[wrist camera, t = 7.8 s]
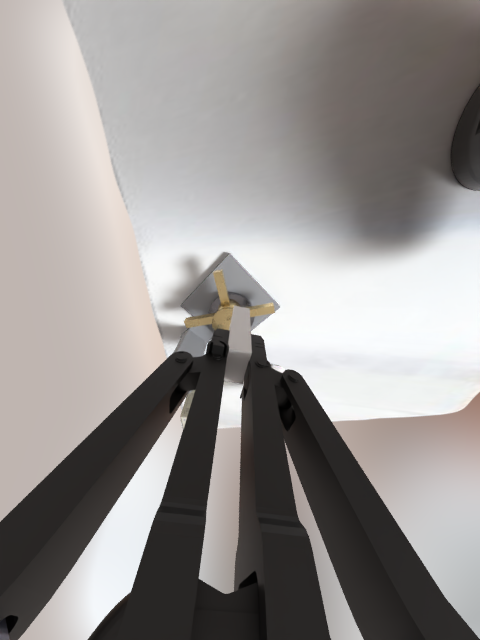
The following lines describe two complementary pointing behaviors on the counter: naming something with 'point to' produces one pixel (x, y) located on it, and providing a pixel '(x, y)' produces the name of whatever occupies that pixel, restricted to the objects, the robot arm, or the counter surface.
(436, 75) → the counter surface
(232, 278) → the stand
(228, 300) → the capstan
